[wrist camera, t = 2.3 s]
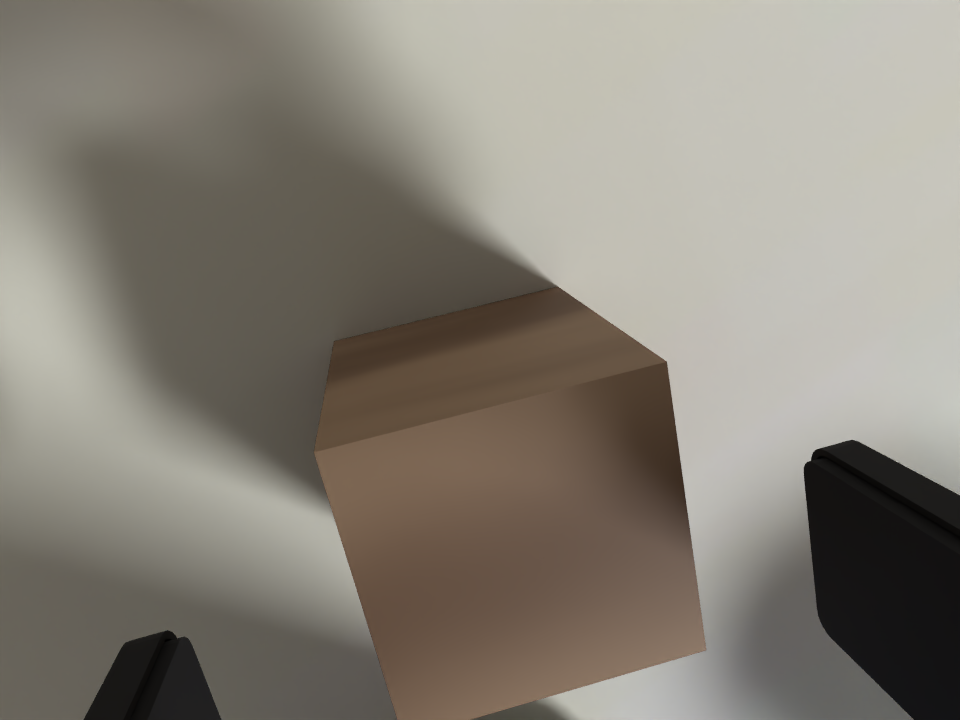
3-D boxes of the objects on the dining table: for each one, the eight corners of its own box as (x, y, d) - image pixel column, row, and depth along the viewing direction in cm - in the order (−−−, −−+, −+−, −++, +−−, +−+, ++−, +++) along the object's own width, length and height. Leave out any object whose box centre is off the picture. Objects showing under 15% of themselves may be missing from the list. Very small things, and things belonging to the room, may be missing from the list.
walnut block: (334, 340, 15) (314, 452, 9) (557, 286, 16) (666, 361, 10) (391, 539, 17) (403, 739, 11) (593, 485, 17) (705, 650, 11)
